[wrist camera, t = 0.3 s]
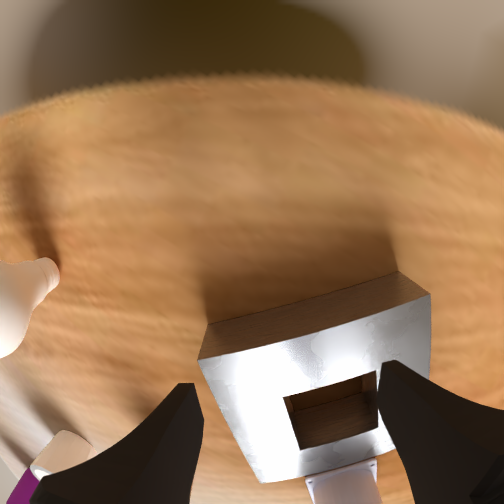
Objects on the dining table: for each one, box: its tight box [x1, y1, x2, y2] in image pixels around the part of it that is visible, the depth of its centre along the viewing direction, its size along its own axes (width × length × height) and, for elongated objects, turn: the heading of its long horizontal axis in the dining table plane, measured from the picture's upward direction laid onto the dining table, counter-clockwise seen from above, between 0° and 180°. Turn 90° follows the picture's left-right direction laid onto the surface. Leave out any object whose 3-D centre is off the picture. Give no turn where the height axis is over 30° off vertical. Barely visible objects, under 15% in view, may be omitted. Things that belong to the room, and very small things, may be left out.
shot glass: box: [30, 430, 97, 481], centre depth 22 cm, size 7×7×7 cm
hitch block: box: [197, 272, 431, 483], centre depth 19 cm, size 14×14×4 cm
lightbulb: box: [0, 257, 60, 358], centre depth 14 cm, size 6×6×11 cm
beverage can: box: [6, 467, 40, 504], centre depth 23 cm, size 8×8×12 cm
